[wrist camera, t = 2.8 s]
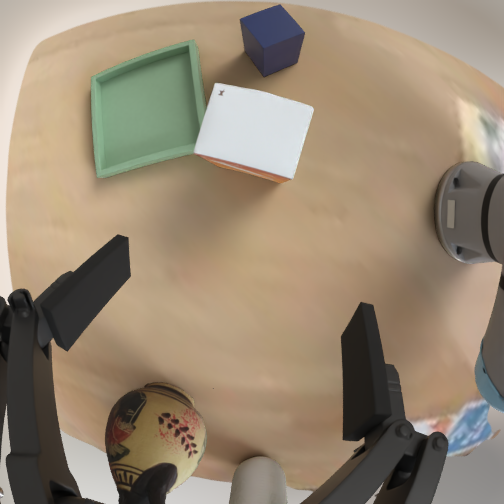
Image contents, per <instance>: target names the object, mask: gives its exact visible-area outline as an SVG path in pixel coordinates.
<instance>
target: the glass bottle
mask: <svg viewBox="0 0 504 504" xmlns="http://www.w3.org/2000/svg"><path fill="white" fill-rule="evenodd" d="M229 504H287V493H286V478H285V473H284V471H283V469H282V468H281V466H280V465H279V463H277V462H276V461H275V460H273V459H271V458H268V457H262V456H258V457H253V458H250V459H247V460H245V461H243V462H242V463H241V464H240V465H239V466H238V467H237V469H236V471H235V473H234V476H233V480H232V486H231V494H230V500H229Z"/></svg>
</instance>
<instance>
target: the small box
mask: <svg viewBox="0 0 504 504" xmlns="http://www.w3.org/2000/svg"><path fill="white" fill-rule="evenodd" d="M313 110H314V108H313V107H311V106H309V105H306V104H303V103H300V102H297V101H294V100H290V99H287V98H284V97H280V96H277V95H273V94H270V93H267V92H263V91H259V90H254V89H248V88H242V87H237V86H232V85H226V84H221V83H215V84H214V87H213V90H212V94H211V97H210V100H209V103H208V106H207V109H206V112H205V116H204V119H203V122H202V125H201V128H200V132H199V135H198V138H197V142H196V145H195V148H194V152H193V153H194V154H195V155H198V156H200V157H202V158H203V159H205V160H207V161H209V162H211V163H213V164H215V165H216V166H218V167H222V168H227V169H231V170H235V171H239V172H243V173H247V174H251V175H254V176H258V177H261V178H265V179H268V180H271V181H275V182H278V183H283V182H286V181H289V180H292V179H293V177H294V174H295V171H296V167H297V164H298V161H299V157H300V154H301V151H302V147H303V144H304V141H305V137H306V134H307V131H308V127H309V124H310V121H311V117H312V114H313Z"/></svg>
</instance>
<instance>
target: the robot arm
mask: <svg viewBox="0 0 504 504" xmlns="http://www.w3.org/2000/svg"><path fill="white" fill-rule="evenodd" d="M434 215H435V225H436V230H437V234H438V237H439V240H440V242H441V244H442V246H443V248H444V249H445V250H446V252H447V253H448V254H449V255H450V256H451V257H453V258H455V259H457V260H459V261H461V262H464V263H468V264H475V263H485V262H498V263H500V264H502V265H503V266H502V271H501V277H500V282H499V286H498V291H497V295H496V299H495V303H494V307H493V311H492V314H491V317H490V321H489V324H488V327H487V330H486V333H485V336H484V338H483V339H482V342H481V346H480V352H479V355H478V358H477V361H476V365H475V381H476V384H477V387H478V390H479V392H480V393H481V395H482V396H483V398H484V399H485V400H486V401H487V402H488V403H489V404H490V405H491V406H492V407H493V408H495V409H496V410H498V411H500V412H502V413H504V174H501V173H499V172H497V171H495V170H493V169H491V168H489V167H487V166H485V165H483V164H480V163H478V162H472V161H471V162H461V163H457V164H455V165H454V166H452V167H451V168H450V169H449V170H448V171H447V172H446V173H445V175H444V176H443V178H442V180H441V182H440V184H439V187H438V190H437V194H436V199H435V209H434ZM130 277H131V273H130V259H129V240H128V237H125V236H122V235H116V236H115V237H114V238H113V239H111V240H110V241H109V242H108V243H107V244H105V245H104V246H103V247H102V248H101V249H99V250H98V251H97V252H96V253H95V254H94V255H92V256H91V257H90V258H89V259H88V260H87V261H85V262H84V263H83V264H82V265H81V266H80V267H79V268H78V269H76V270H75V271H74V272H72V271H69V272H67V273H65V274H63V275H61V276H60V277H59V278H58V279H57V280H56V281H55V282H53V283H52V284H51V285H50V287H48V288H47V289H46V290H45V291H44V292H43V293H42V294H41V295H40V296H39V297H38V298H37V299H36V300H35V301H34V302H33V300H32V297H31V295H30V293H29V291H28V290H26V289H18V290H15V291H14V292H12V293H11V294H10V295H9V297H8V302H9V305H10V306H9V305H7V304H6V301H5V299H4V298H3V297H1V296H0V459H1V443H2V433H3V424H4V417H5V410H6V404H7V416H8V429H9V439H10V447H11V452H10V454H8V455H7V457H6V467H7V472H8V478H9V482H10V487H11V491H12V495H13V499H14V502H15V504H104V503H100V502H97V501H94V500H91V499H88V498H86V499H85V498H82V497H81V494H80V491H79V488H78V486H77V483H76V481H75V479H74V477H73V476H72V474H71V473H70V470H69V468H68V464H67V460H66V456H65V453H64V448H63V444H62V439H61V434H60V428H59V423H58V416H57V410H56V402H55V394H54V384H53V371H52V349H51V342H50V341H51V339H52V338H54V340H55V342H56V344H57V345H58V346H59V347H61V348H63V349H64V350H66V351H67V352H68V350H69V349H70V348H71V346H72V345H73V344H74V343H75V341H76V340H77V339H78V338H79V336H80V335H81V334H82V333H83V331H84V330H85V329H86V328H87V326H88V325H89V324H90V323H91V322H92V320H93V319H94V318H95V317H96V316H97V314H98V313H99V312H100V311H101V310H102V308H103V307H104V306H105V305H106V304H107V303H108V301H109V300H110V299H111V298H112V297H113V296H114V294H115V293H116V292H117V291H118V290H119V289H120V288H121V287H122V285H123V284H124V283H125V282H126V281H127V280H128V279H129V278H130ZM341 345H342V368H343V440H346V441H359V440H360V439H362V438H363V437H365V443H364V444H363V445H361V446H360V447H358V448H357V449H355V450H354V452H355V453H354V454H353V455H352V456H351V457H350V459H349V460H348V461H347V462H346V463H345V464H344V465H343V466H342V467H341V468H340V469H339V470H338V471H337V472H336V473H335V474H334V475H332V476H331V477H330V478H329V479H328V480H327V481H326V482H325V483H324V484H323V485H322V486H321V487H319V488H318V489H317V490H316V491H315V492H314V493H312V494H311V495H310V496H309V497H308V498H307V499H305V500H304V501H303V502H302V503H300V504H365V503H366V502H367V501H368V500H369V499H370V498H371V496H372V495H373V494H374V493H375V492H376V490H377V489H378V488H379V487H380V486H381V484H382V483H383V482H384V483H383V486H382V487H381V490H380V491H379V493H378V495H377V497H376V499H375V501H374V503H373V504H431V503H432V500H433V497H434V494H435V492H436V489H437V486H438V483H439V480H440V476H441V473H442V470H443V466H444V462H445V459H446V455H447V451H448V440H447V438H446V436H445V435H444V434H442V433H441V432H433V433H432V434H431V435H429V436H427V435H424V434H421V433H419V432H416V431H415V430H414V427H413V425H412V424H411V423H410V422H409V421H407V420H406V418H405V411H404V404H403V398H402V392H401V385H400V380H399V374H398V372H397V370H396V369H395V367H394V365H390V364H385V361H384V355H383V350H382V344H381V339H380V334H379V329H378V324H377V320H376V315H375V311H374V306H373V305H371V304H367V303H363V302H360V304H359V306H358V308H357V310H356V311H355V313H354V315H353V317H352V319H351V320H350V322H349V324H348V326H347V327H346V329H345V331H344V332H343V334H342V336H341ZM2 497H3V490H2V488H1V487H0V498H2ZM0 504H1V503H0Z"/></svg>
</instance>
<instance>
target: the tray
mask: <svg viewBox="0 0 504 504" xmlns="http://www.w3.org/2000/svg"><path fill="white" fill-rule="evenodd" d="M206 109H207V107H206V101H205V94H204V87H203V80H202V73H201V66H200V59H199V51H198V46H197V44H196V42H195V40H190V41H186V42H182V43H179V44H175V45H172V46H168V47H165V48H162V49H159V50H156V51H153V52H150V53H147V54H144V55H142V56H139V57H136V58H133V59H131V60H128V61H126V62H123V63H121V64H119V65H116V66H114V67H112V68H109V69H107V70H105V71H103V72H101V73H98V74H96V75H94V76H92V77H91V112H92V132H93V146H94V157H95V166H96V174H97V178H107V177H110V176H113V175H116V174H119V173H123V172H126V171H129V170H133V169H136V168H139V167H143V166H146V165H150V164H154V163H157V162H161V161H165V160H169V159H173V158H177V157H181V156H185V155H190V154H194V153H193V152H194V148H195V145H196V142H197V138H198V135H199V132H200V128H201V125H202V122H203V119H204V116H205V112H206Z"/></svg>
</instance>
